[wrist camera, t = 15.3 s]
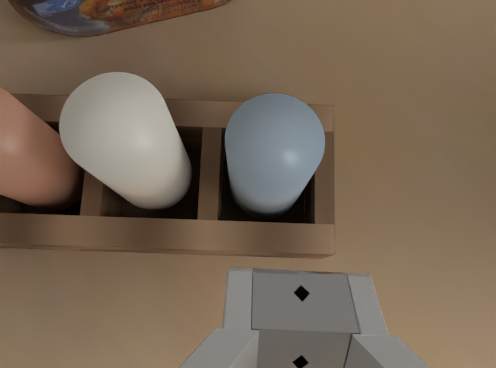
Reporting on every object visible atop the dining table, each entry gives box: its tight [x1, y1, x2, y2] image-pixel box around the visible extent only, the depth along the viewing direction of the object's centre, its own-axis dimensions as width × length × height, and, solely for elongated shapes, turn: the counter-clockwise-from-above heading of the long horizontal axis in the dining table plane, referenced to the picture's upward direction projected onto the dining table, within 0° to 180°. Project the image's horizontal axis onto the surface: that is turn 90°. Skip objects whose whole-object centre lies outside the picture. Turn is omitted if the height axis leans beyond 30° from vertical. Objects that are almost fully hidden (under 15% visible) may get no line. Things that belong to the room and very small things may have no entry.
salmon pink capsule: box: [0, 87, 85, 211], centre depth 22 cm, size 4×4×8 cm
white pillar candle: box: [59, 72, 192, 211], centre depth 21 cm, size 4×4×8 cm
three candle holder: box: [0, 94, 335, 259], centre depth 26 cm, size 19×8×4 cm, turn 88°
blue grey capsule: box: [225, 93, 325, 219], centre depth 22 cm, size 4×4×8 cm
